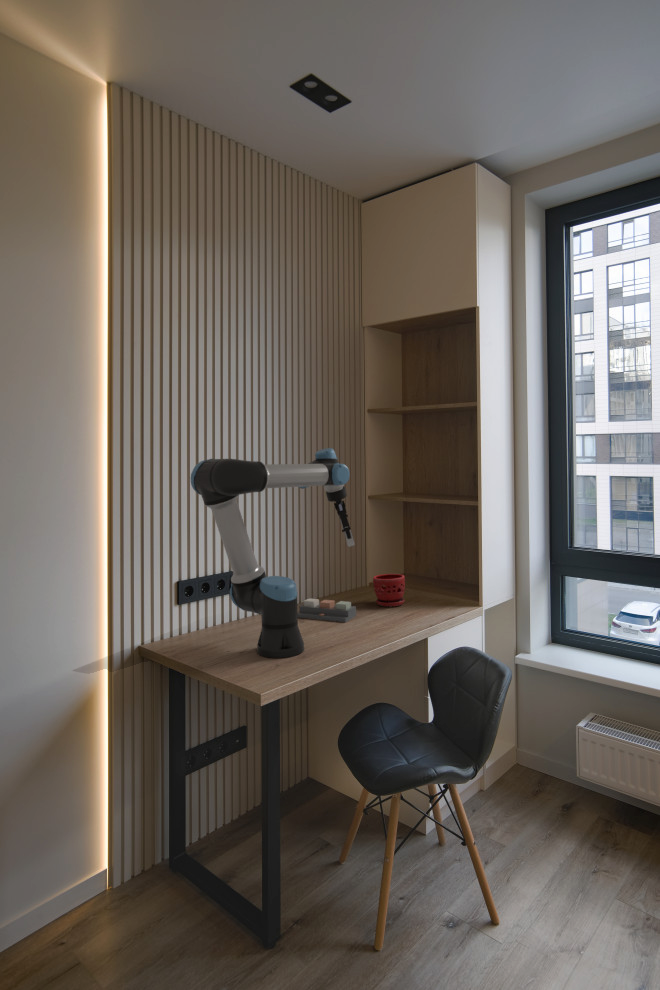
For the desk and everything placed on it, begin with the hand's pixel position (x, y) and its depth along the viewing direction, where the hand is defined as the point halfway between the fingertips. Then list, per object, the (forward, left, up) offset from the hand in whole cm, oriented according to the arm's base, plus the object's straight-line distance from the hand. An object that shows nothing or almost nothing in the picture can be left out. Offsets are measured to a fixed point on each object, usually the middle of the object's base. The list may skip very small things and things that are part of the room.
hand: (349, 539), depth 236 cm
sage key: (-3, +2, -27) cm, 27 cm away
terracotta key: (-3, +9, -27) cm, 29 cm away
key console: (-4, +9, -30) cm, 31 cm away
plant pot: (+22, -7, -30) cm, 38 cm away
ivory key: (-3, +16, -27) cm, 32 cm away
